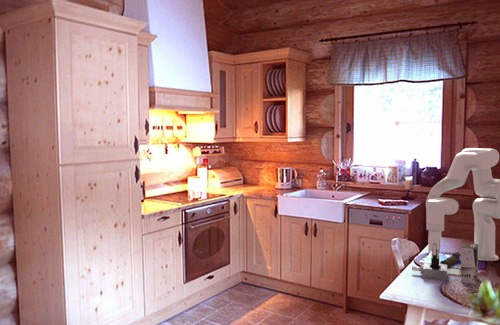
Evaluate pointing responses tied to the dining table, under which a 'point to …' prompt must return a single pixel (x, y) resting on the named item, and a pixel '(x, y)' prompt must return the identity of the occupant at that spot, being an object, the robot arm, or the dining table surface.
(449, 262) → the hand tool
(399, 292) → the dining table surface
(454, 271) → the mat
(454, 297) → the dining table surface
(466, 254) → the coffee box
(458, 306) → the dining table surface
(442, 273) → the chuck
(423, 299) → the dining table surface
